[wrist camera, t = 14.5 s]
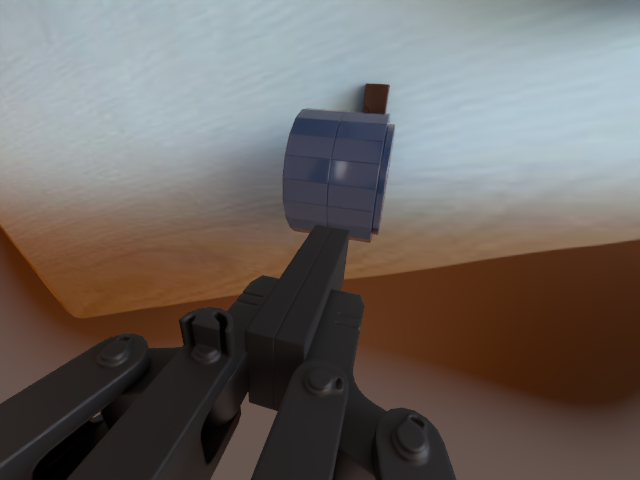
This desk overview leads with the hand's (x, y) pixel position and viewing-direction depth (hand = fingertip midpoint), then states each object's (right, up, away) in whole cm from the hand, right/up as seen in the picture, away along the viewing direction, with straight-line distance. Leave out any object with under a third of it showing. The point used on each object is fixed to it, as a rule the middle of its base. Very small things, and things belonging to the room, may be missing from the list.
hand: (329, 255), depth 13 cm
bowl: (+5, +5, +11) cm, 13 cm away
